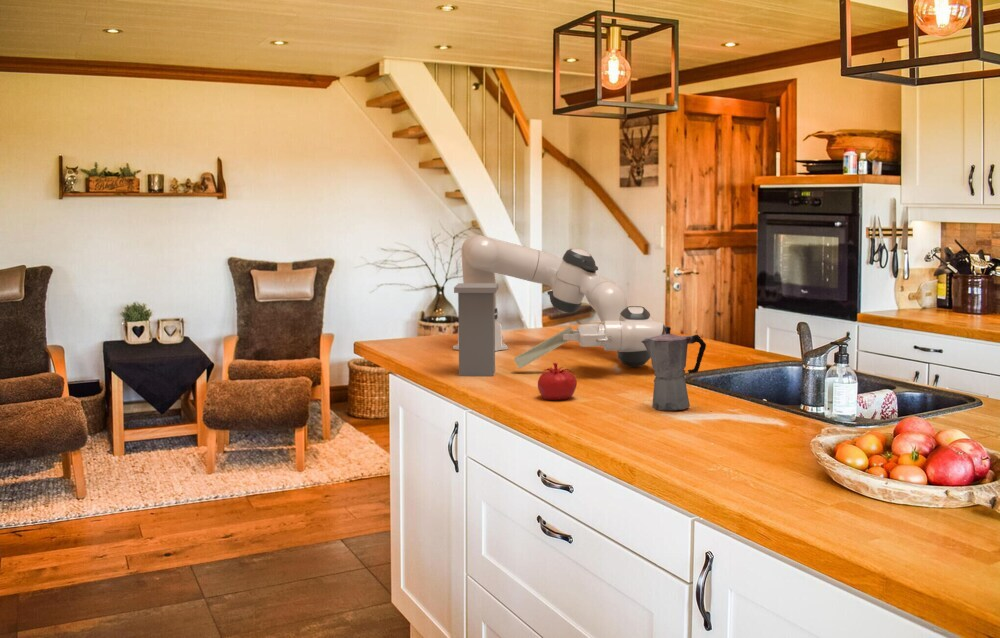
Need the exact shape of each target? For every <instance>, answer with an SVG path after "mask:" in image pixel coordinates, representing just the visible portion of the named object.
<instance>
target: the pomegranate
mask: <svg viewBox="0 0 1000 638" xmlns="http://www.w3.org/2000/svg"><path fill="white" fill-rule="evenodd" d="M552 364H553V367H554V368H552V367H549V368H546V369H544V371H545V372H542V374H541V375H540V376H539V378H538V381H537V389H538V393H539V394H540V396H541V397H542V398H543V399H545V400H547V401H560V400H561V401H562V400H569V399H570V398H572V396H573V395H574V393H575V392H576V390H577V384H578V379H576V376H575V375H574V374H573V373H572V372H571V369H568V368H563V367H562V366H561V367H559V368H558V362H553V363H552ZM567 370H568V371H567Z"/></svg>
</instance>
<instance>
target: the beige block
mask: <svg viewBox="0 0 1000 638" xmlns="http://www.w3.org/2000/svg"><path fill="white" fill-rule="evenodd" d="M573 330H574V329H572V327H571V326H569V327H567V328H565V329H562V330H561V331H559V332H558V333H556V334H554V335H553V336H550V337H549V338H546V339H545V340H544V341H542V342H540V343H538V344H537V345H535V346H533V347H532V348H530V349H528V350H526V351H524V352H523V353H521V354H518V355H517V356H516V357H514V359H513V360H514V362H515V363H516V365H517V367H518V369H522V368H523V367H525V366H527V365H528V364H530V363H533V362H534V361H535V360H538V359H539V358H541V357H543V356H544V355H546V354H548V353H550V352H551V351H554V350H555V349H557V348H559V347H560V346H562V345H564V344H566V343H567V342H569V341H570V340H563V334H574V332H573Z"/></svg>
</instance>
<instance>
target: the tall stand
mask: <svg viewBox="0 0 1000 638" xmlns="http://www.w3.org/2000/svg"><path fill="white" fill-rule="evenodd" d="M498 290H499V283H497V282H496V283H463V282H459V283H457V284H456V285H455V286H454V287H453V293H454V294H457V300H458V301H457V303H458V304H457V305H458V308H457V309H458V310H457V311H458V318H457V319H458V320H457V321H458V326H459V350H458V376H459V377H494V375H495V371H496V351H495V293H496V294H497V291H498Z"/></svg>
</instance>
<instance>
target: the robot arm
mask: <svg viewBox="0 0 1000 638" xmlns="http://www.w3.org/2000/svg"><path fill="white" fill-rule="evenodd" d="M461 245H462V246H461V266H462V267H461V269H462V270H461V271H462V283H497V282H496V274H498V275H502V276H508V277H512V278H515V279H519V280H523V281H526V282H532V283H535V284H536V283H537V284H542V285H547V286H549V287H550V288H551V290H548V291H546V293H547V295H548V296H549V302H550V303H551V306H552V307H553V308H554V309H556V310H557V311H559V312H561V313H564V314H574V313H577V312H578V311H579V309H580V308H581V306H582V302H583V299H584V297H585V298H586V300H587V302H588V304H589V305H590V306H591V308H592V309H593V310H594V312H595V313H596V315H597V316H598V319H599V320H600V322H601V323H598V322H597V323H588V324H587V323H586V324H579V325H577V327H576V328H577V329H572V330H573V332H574V334H563V340H569V341H571V342H578V343H579V346H580V347H583V348H584V347H585V348H587V347H589V348H590V347H591V348H592V347H593V348H594V347H603V350H604V352H608V351H609V352H611V351H612V352H613V351H614V352H617V359H618V361H620V362H621V363H622V364H623V365H624V366H626V367H629V368H640V367H642V366H644V365H645V364H646V363H648V362H649V361H650V360H651V357H650V355H649V353H648V351H647V349H646V347H645V345H644V344H643V343H642V342H641V341H642V340H644V339H645V338H650V337H655V336H659V335H663V334H665V329H664V328H665V327H666V326H665V324H664V322H661V321H657V320H655V319H654V318H653V317H652V316H651V313H650V311H649V310H648V309H647V308H645V307H644V306H641V305H639V306H637V305H632V306H631V305H630V306H628V300H627V296H626V294H625V292H624V290H623V288H621V286H619V285H618V284H617V283H615V282H614V281H613V280H611V279H609V278H607V277H605V276H601V275H598V274H597V272H596V271H599V267H598V266H597V265H596V261H595V259H594V258H593V256H592V254H590V253H589V252H587V251H586V250H584V249H582V248H581V249H580V248H570V249H567V250H566V251H565V253H564V254H563V256H562V258H559V257H558V256H556V255H553V254H550V253H548V252H545V251H542V250H538V249H534V248H531V247H527V246H524V245H519V244H516V243H511V242H508V241H504V240H501V239H496V238H492V237H489V236H485V235H480V234H473V235H470V236H468V237H467V238H465V240H464V241H463V243H462V244H461ZM498 314H499V312H498V308H497V292H496V293H495V352H498V351H504V350H508V349H509V347H508V345H507V344H506V343H505V342H504V341H503V338H504V336H503V330H502V329H503V328H502V324H501V322H499V321H498V318H499V317H498ZM457 327H458V329H457V331H458V332H457V343H456V344H454V345H453V346H452V350H456V351H457V350H458V351H459V325H458V326H457Z"/></svg>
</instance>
